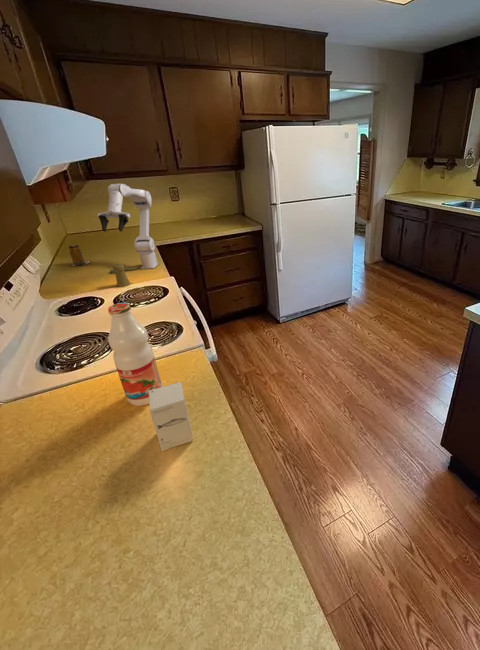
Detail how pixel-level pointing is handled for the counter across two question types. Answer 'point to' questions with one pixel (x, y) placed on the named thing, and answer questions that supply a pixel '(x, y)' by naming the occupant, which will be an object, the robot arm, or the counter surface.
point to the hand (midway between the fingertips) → (112, 230)
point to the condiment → (77, 255)
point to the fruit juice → (132, 355)
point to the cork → (121, 275)
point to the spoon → (124, 270)
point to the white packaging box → (170, 416)
